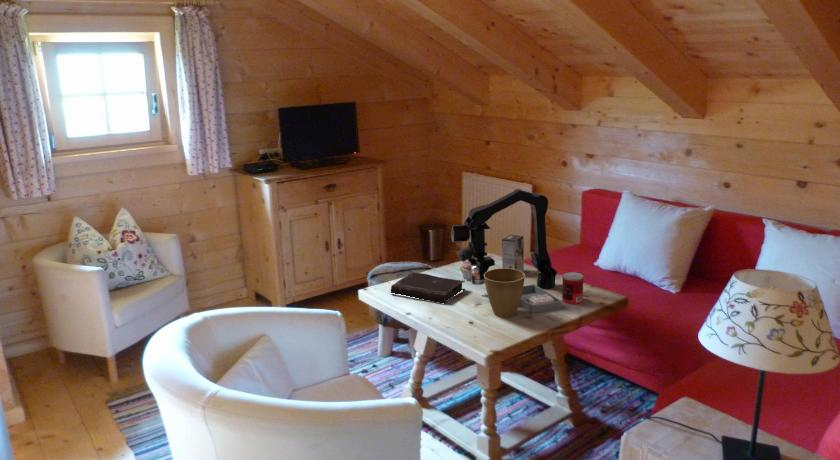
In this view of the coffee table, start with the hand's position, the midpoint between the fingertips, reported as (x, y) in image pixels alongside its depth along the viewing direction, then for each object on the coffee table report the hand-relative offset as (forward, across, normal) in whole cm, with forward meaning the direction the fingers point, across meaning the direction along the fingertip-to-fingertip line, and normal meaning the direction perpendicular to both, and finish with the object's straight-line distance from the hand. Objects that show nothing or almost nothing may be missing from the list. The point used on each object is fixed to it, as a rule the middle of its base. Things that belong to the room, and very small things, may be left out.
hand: (478, 277), depth 265 cm
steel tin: (+2, 0, 0) cm, 2 cm away
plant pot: (+8, +24, 0) cm, 25 cm away
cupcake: (+8, -20, +5) cm, 22 cm away
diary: (+8, -11, -18) cm, 22 cm away
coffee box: (+8, -19, +25) cm, 32 cm away
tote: (+7, +18, +15) cm, 24 cm away
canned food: (+8, +23, +29) cm, 38 cm away
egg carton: (+6, +24, +15) cm, 29 cm away
